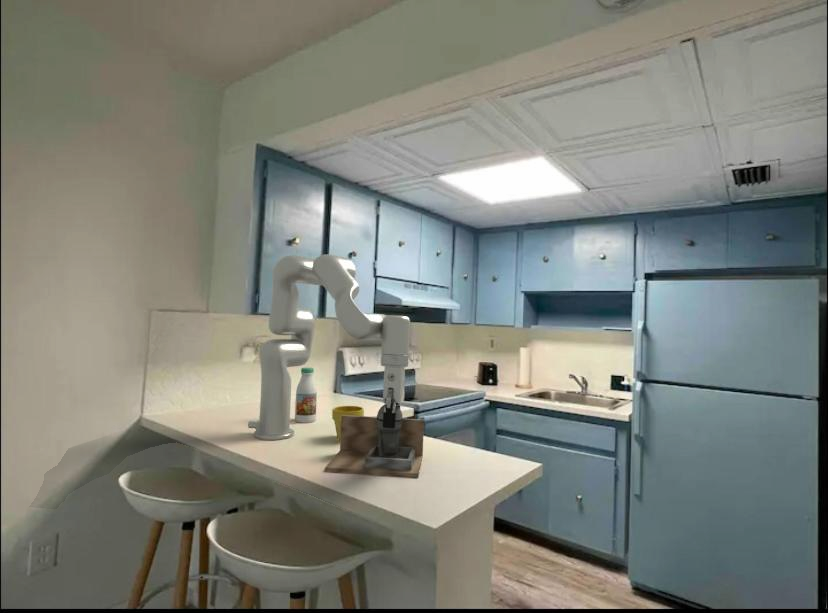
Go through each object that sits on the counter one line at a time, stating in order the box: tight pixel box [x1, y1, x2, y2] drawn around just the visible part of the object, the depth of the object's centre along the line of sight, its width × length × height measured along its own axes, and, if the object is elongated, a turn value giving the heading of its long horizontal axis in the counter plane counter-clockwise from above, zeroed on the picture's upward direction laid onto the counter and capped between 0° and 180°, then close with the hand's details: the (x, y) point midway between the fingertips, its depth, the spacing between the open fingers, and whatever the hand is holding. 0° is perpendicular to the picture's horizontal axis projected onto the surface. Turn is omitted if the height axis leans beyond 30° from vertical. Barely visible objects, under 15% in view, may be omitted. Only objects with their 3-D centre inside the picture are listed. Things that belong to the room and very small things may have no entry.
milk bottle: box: [294, 367, 318, 424], centre depth 168 cm, size 8×8×20 cm
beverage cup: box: [376, 404, 404, 458], centre depth 121 cm, size 7×7×20 cm
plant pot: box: [331, 405, 365, 441], centre depth 146 cm, size 10×10×10 cm
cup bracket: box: [324, 415, 425, 478], centre depth 121 cm, size 24×16×11 cm, turn 85°
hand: (391, 423), depth 121 cm, fingers open, 9 cm apart
